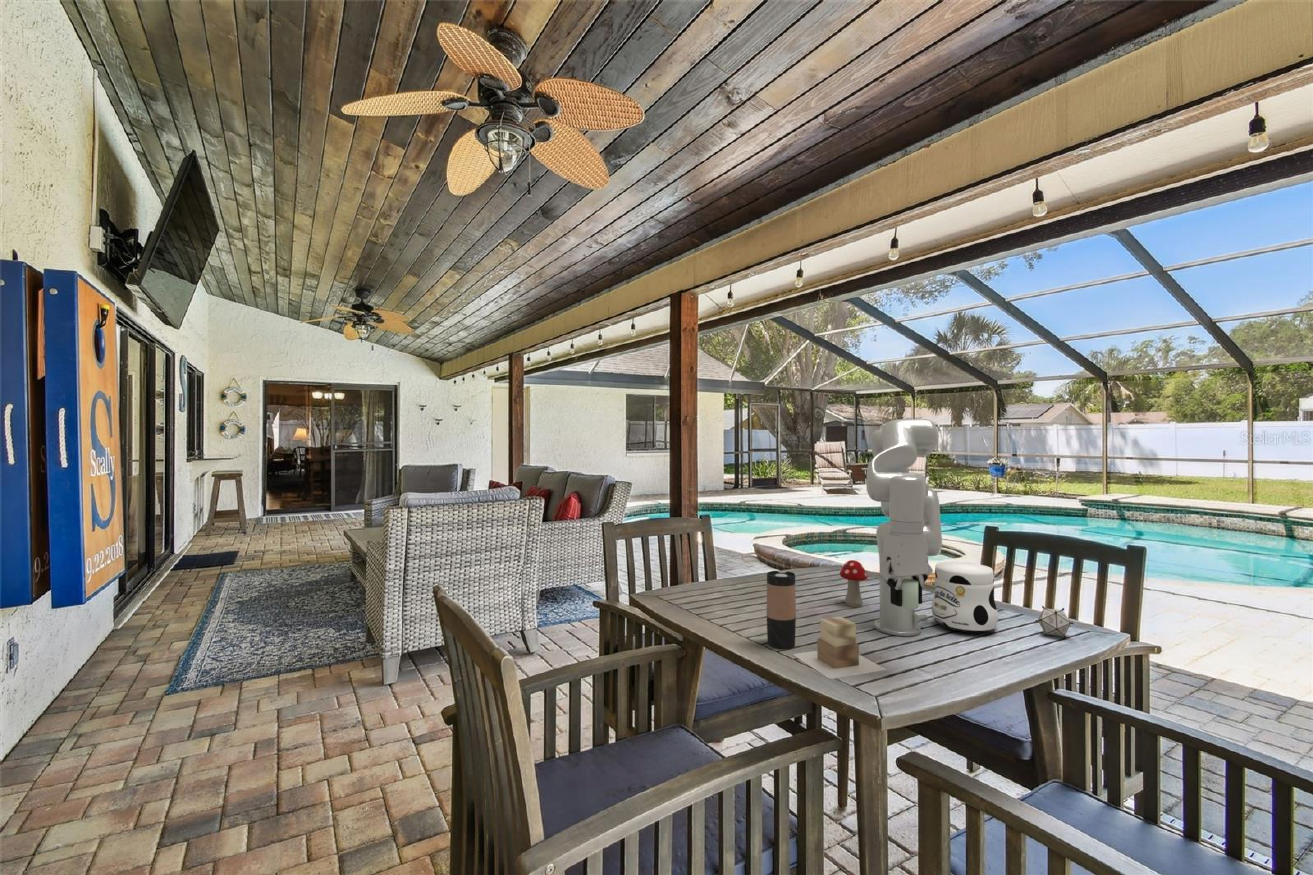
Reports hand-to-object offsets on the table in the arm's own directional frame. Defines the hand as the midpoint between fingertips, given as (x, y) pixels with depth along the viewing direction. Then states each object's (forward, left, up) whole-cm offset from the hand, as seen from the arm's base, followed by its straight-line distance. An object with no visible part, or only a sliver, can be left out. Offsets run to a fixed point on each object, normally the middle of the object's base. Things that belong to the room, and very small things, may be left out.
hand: (906, 602), depth 137 cm
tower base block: (+12, -10, -16) cm, 22 cm away
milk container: (-41, -22, -17) cm, 49 cm away
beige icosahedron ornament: (-59, -8, -17) cm, 62 cm away
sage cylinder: (0, 0, -1) cm, 1 cm away
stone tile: (+12, -10, -17) cm, 23 cm away
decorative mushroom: (-25, -52, -17) cm, 60 cm away
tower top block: (+12, -10, -11) cm, 19 cm away
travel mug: (+19, -25, -17) cm, 36 cm away
